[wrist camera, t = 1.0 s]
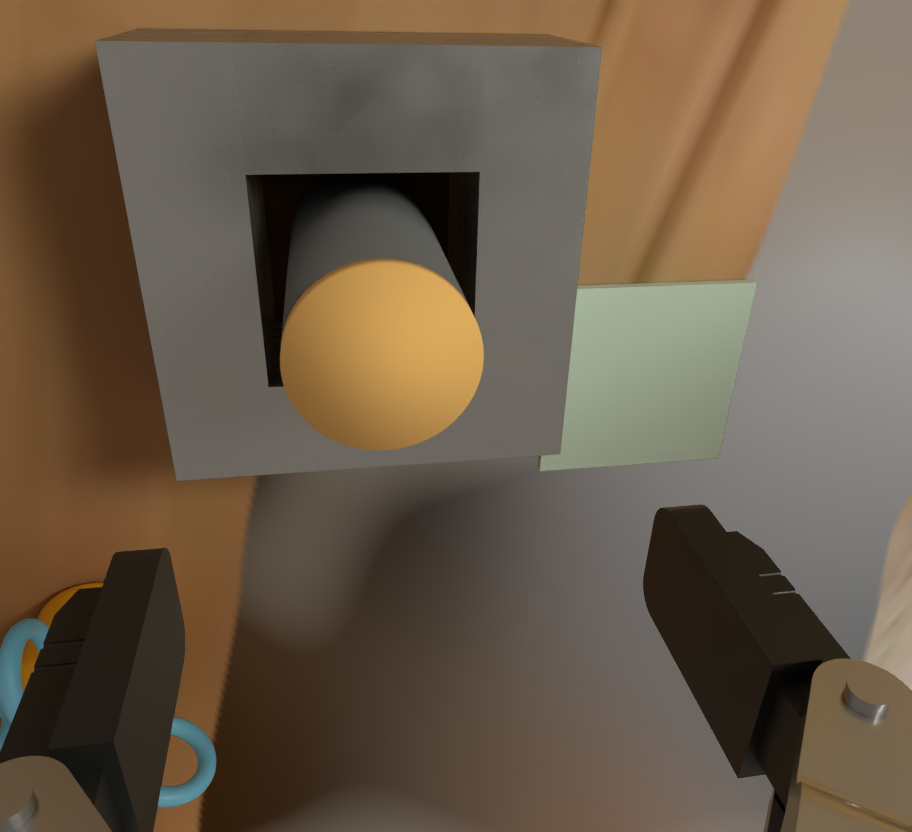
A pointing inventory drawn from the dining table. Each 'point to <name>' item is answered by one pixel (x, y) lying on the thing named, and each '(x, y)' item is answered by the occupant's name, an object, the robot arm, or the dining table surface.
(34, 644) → the yellow blue looped piece
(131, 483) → the dining table surface
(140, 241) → the housing
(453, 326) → the plug
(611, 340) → the mat
